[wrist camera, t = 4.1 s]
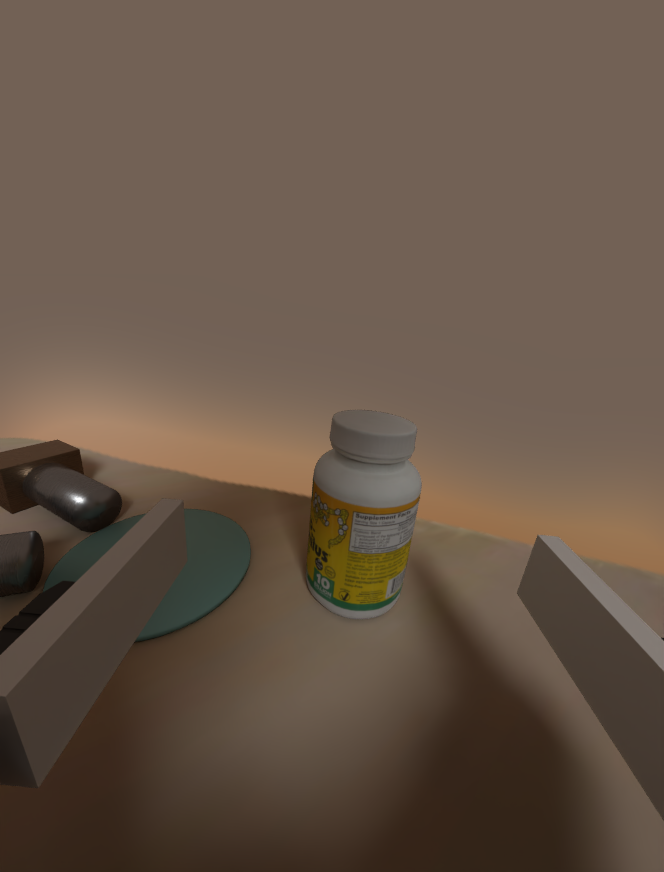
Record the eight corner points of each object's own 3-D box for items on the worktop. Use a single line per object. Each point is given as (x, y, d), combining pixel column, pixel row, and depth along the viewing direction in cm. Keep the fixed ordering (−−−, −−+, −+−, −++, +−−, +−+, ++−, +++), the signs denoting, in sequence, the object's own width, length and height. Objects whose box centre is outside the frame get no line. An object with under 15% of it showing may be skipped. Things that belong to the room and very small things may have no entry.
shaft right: (135, 513, 22) (130, 471, 21) (61, 547, 19) (51, 499, 18) (58, 473, 27) (50, 436, 25) (-16, 495, 23) (-28, 453, 22)
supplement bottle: (414, 620, 16) (456, 443, 13) (308, 627, 15) (326, 438, 12) (383, 549, 21) (407, 408, 18) (301, 551, 20) (313, 403, 17)
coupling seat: (267, 520, 23) (267, 516, 23) (212, 655, 14) (212, 650, 14) (128, 505, 23) (128, 502, 23) (-21, 631, 14) (-23, 625, 14)
